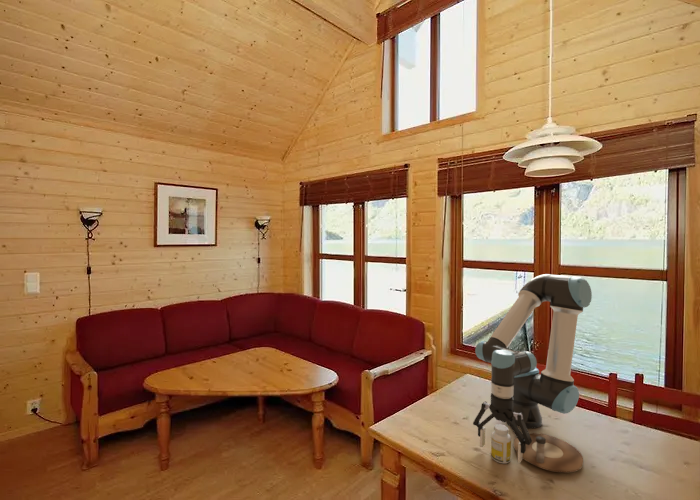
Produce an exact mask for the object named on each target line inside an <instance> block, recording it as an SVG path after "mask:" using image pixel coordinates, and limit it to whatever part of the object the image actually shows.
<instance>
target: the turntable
mask: <svg viewBox="0 0 700 500" xmlns="http://www.w3.org/2000/svg"><path fill="white" fill-rule="evenodd" d="M529 434H530V437H531V439H532V442H531V443H530V445H527V444H526V451H525V453H524V454H523V455H522V460H524V461H526V462H528V463H529V464H531V465H534V466H535V467H538V468H541V469H543V470H546V471H550V472H554V473H564V474H565V473H567V474H569V473H574V472H578V471H579V470H581V469H582V467H583V465H584V457H583V455H582V453H581V452H580V451H579V450H578V449H577V448H576V447H575V446H574V445H572V444H571V443H569V442H567V441H565V440H564V439H560V438H558V437H555V436H552V435H548V434H544V433H537V432H529ZM519 442H520V441H519V440H518V438H517V437H516V436H515V438H514V440H513V448H514V450H515V452H516V453H517V454H518V443H519Z"/></svg>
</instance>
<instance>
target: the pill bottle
mask: <svg viewBox="0 0 700 500" xmlns="http://www.w3.org/2000/svg"><path fill="white" fill-rule="evenodd" d="M493 430H494V431H492V433H491V437H490V438H491V439H490V441H491V445H490V446H491V447H490V450H491V451H490V455H491V458H492V460H494V461H495V462H497V463H498V464H508V463H510V462H511V456H512V455H511V454H512V453H511V452H512V438H511V435H510V434H509V427H508V426H507V425H504V424H501V423H496V424H494V426H493Z"/></svg>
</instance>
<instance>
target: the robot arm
mask: <svg viewBox="0 0 700 500" xmlns="http://www.w3.org/2000/svg"><path fill="white" fill-rule="evenodd" d="M592 298H593V295H592V289H591V286H590V283H589V282H588V281H587V280H586V279H585V278H583V277H580V276H574V275H559V274H551V273H545V274H540V275H537V276H535V277H534V278H532V279H530V280H529V281H528V282H526V283H525V284H524V285H523V286H522V288H521V289H520V290H519V292H518V298H517V299H516V300H515V302H514V303H513V305H512V306H511V307H510V308H509V310H508V311H507V313H506V314H505V316H504V317H503V318H502V320H501V321H500V323H499V324H498V325H497V327H496V329H495V330H494V331H493V333H492V334H491V335H490V337H489V338H488V340H487V341H485V340H484V341H482V340H481V341H480V342H478V343H477V344H476V347H475V355H476V357H477V358H478V359H479V360H482V361H484V362H486V363H490V364H491V378H490V379H491V381H490V392H491V393H490V404H489V403H488V401H484V402H483V403H481V406H480V407H481V408H480V410H479V412H478V413H477V415H476V417H475V419H474V421H473V422H472V425H473V426H476V427H477V436H478V437H480V440H479V447H480V448H483V447H485V445H486V427H485V425H487V424H488V423H489V422H490V421H491V420H492V419H495V420H496V421H500V422H503V423H506V424H507V425H508V426H509V427H510V429H511V431H512V432H513V434H514V435H515V438H516V437H517V438H518V440H519V441H520V442H519V443H518V453H517V463H520V464H521V462H522V461H523V458H522V455H523V454H524V453H525V451H526V444H527V445H530V443H531V442H532V439H531V437H530V434H529V433H530V432H529V429H538V428H540V427H542V425H543V417H542V414H541V410H540V408H539V407H540V406H543V407H545V408H548V409H550V410H552V411H554V412H558V413H560V414H566V415H567V414H569V413H571V412H572V411H573V410H574V409H575V408H576V406H577V404H578V401H579V398H580V391H579V388H578V387H577V386H576V385H574V383H575V379H574V378H573V377H572V376H571V373H572V372H571V370H572V363H573V355H574V348H575V340H576V331H577V325H578V324H577V323H578V317H579V315H580V314H582V313H583V312H584V308H587V307H589V306H590V304H591V303H592ZM543 302H549V303H550V305H549V308H551V309H552V318H551V320H552V321H551V328H550V336H549V342H548V349H547V358H546V365H545V368H544V369H543V370H542V371H540V370H539V368H537V364H538V362H537V358H536V356H535V355H534V354H533V353H532V352H531V351H527V350H520V351H517V350H513V349H510V348H509V347H510V345H511V344H512V342H513V341H514V339H515V337H516V336H517V335H518V334H519V332H520V331H521V329H522V328H523V326H524V325H525V323H526V321H528V319H529V317H530V316H531V314H532V312H534V311H535V309H536V308H537V307H540V305H542V303H543ZM539 405H540V406H539ZM488 409H489V410H490V412H491V414H489V415H488V416H487V417H486V418H484V420H482V422H480V421H481V419H482V417H483V416H484V414H485V412H486V411H487V410H488Z"/></svg>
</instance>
